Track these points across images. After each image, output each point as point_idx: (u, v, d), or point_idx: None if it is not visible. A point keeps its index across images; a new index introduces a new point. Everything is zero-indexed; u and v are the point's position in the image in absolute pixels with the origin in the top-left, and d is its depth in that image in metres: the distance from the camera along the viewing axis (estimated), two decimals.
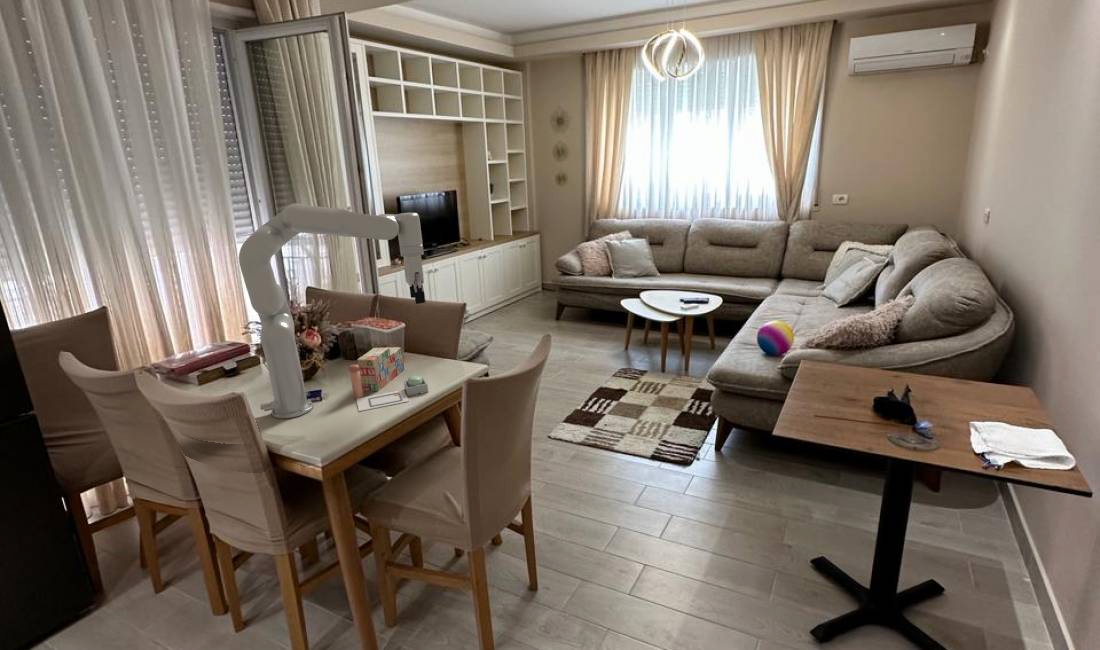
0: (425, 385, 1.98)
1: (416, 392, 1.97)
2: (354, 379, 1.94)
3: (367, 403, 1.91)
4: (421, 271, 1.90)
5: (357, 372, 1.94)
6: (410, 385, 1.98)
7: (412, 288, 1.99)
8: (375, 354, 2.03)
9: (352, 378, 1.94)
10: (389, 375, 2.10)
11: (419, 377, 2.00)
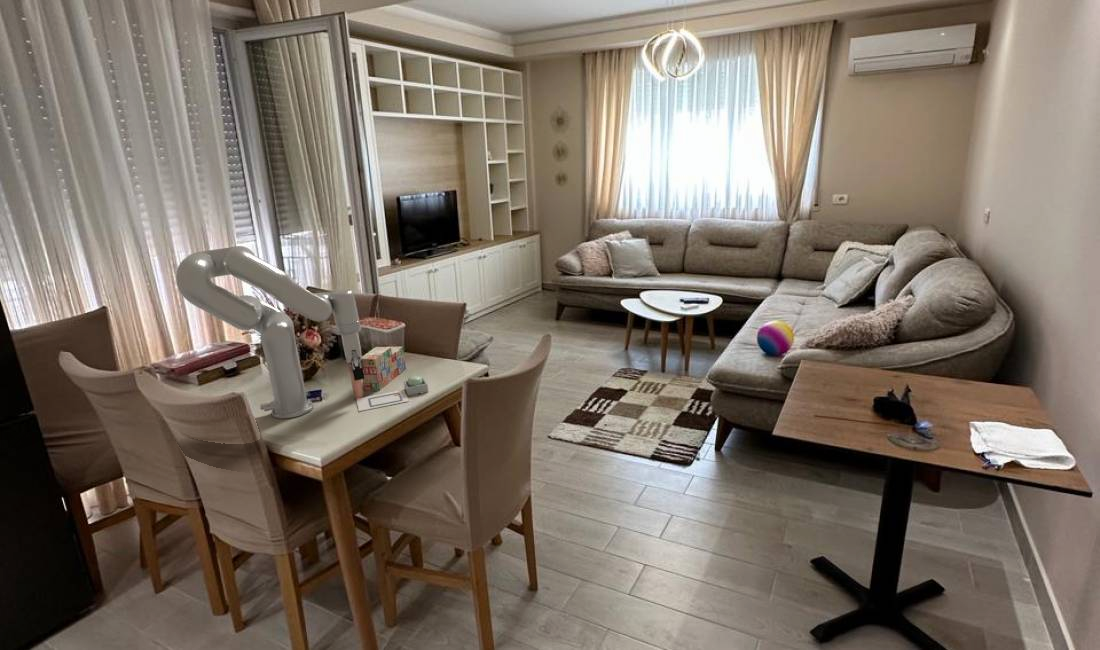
0: (425, 385, 1.98)
1: (416, 392, 1.97)
2: None
3: (367, 403, 1.91)
4: (358, 348, 1.89)
5: None
6: (410, 385, 1.98)
7: None
8: (377, 353, 2.04)
9: (352, 378, 1.94)
10: (391, 374, 2.11)
11: (419, 377, 2.00)
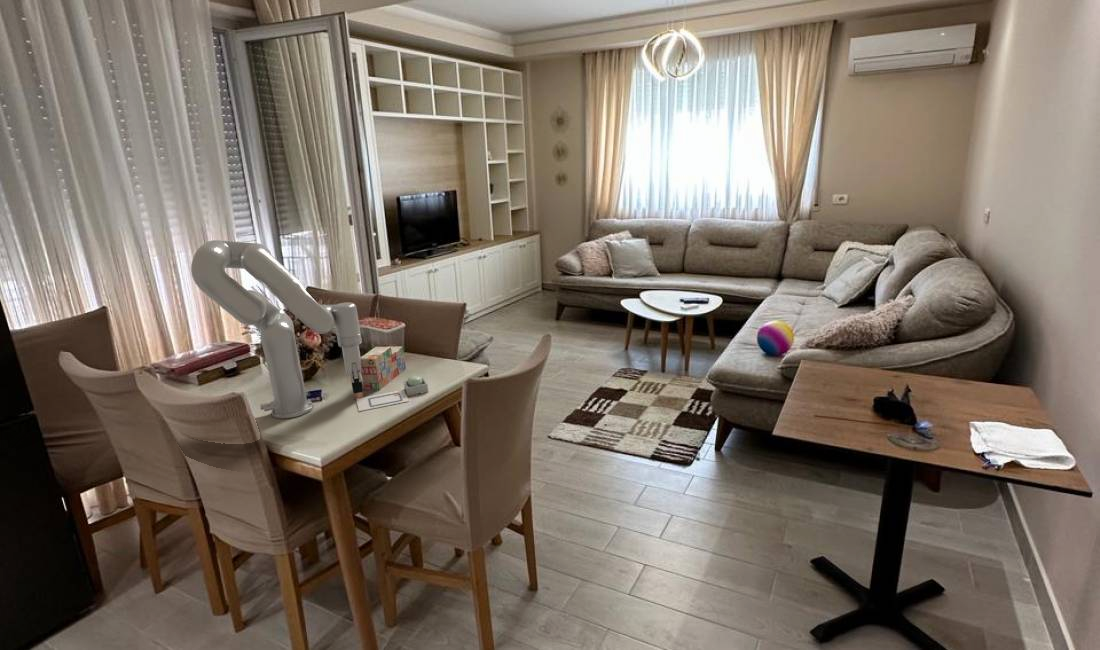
0: (425, 385, 1.98)
1: (416, 392, 1.97)
2: None
3: (367, 403, 1.91)
4: (358, 361, 1.90)
5: None
6: (410, 385, 1.98)
7: None
8: (377, 353, 2.04)
9: None
10: (391, 374, 2.11)
11: (419, 377, 2.00)
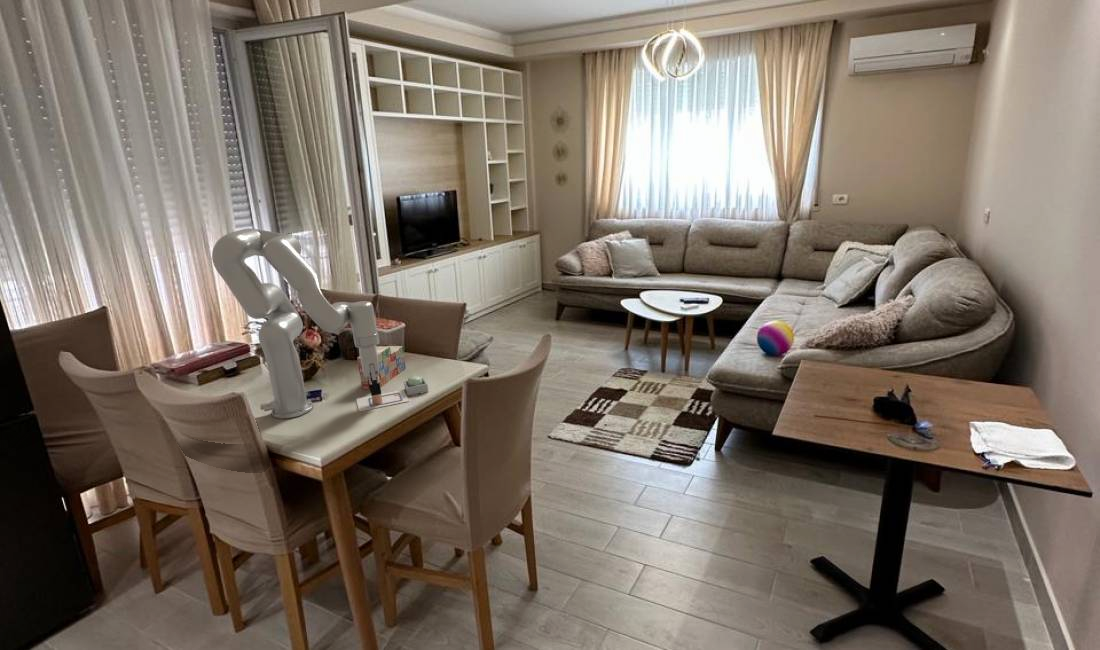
0: (425, 385, 1.98)
1: (416, 392, 1.97)
2: None
3: (367, 403, 1.91)
4: (376, 362, 1.83)
5: None
6: (410, 385, 1.98)
7: None
8: None
9: None
10: (389, 374, 2.11)
11: (419, 377, 2.00)
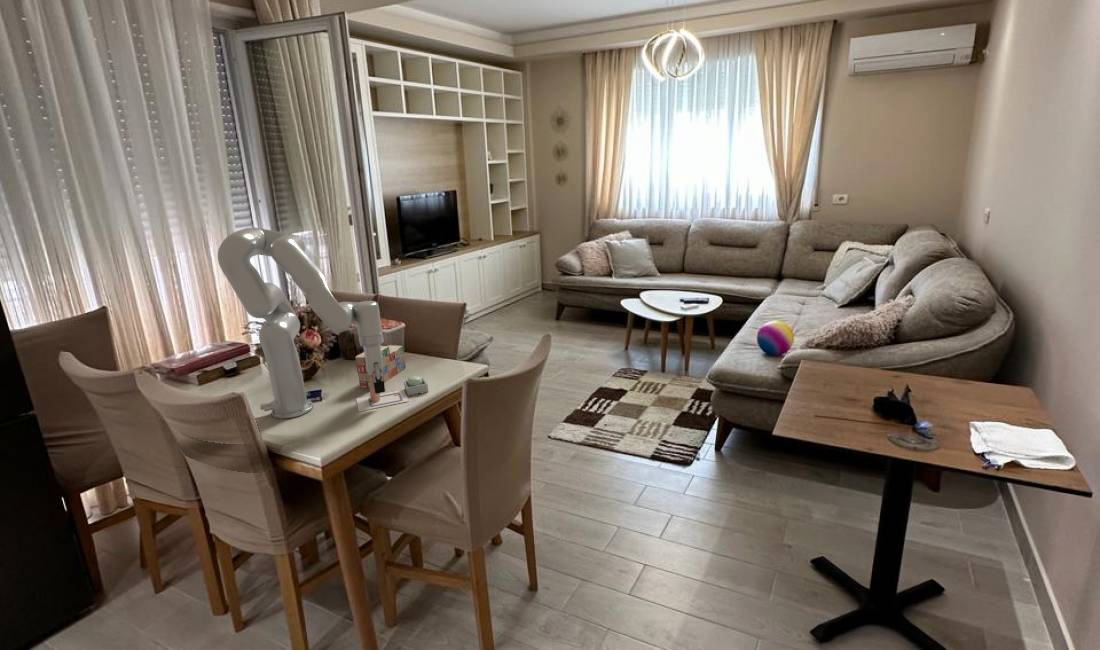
0: (425, 385, 1.98)
1: (416, 392, 1.97)
2: None
3: (367, 403, 1.91)
4: (380, 361, 1.86)
5: None
6: (410, 385, 1.98)
7: None
8: None
9: (371, 379, 1.90)
10: (388, 373, 2.12)
11: (419, 377, 2.00)
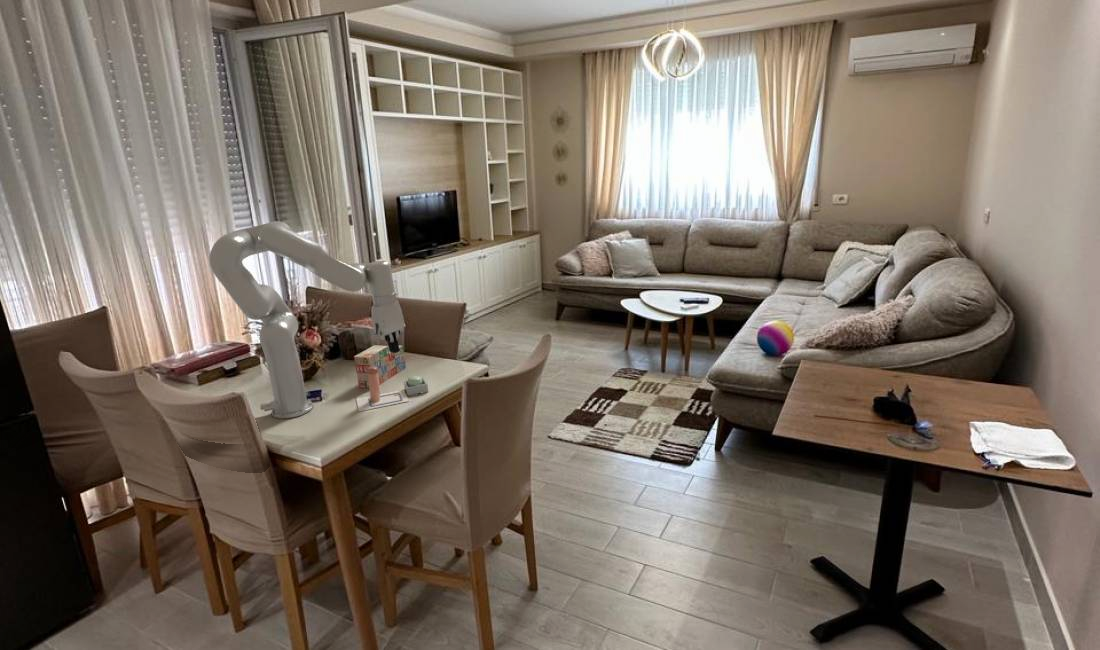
0: (425, 385, 1.98)
1: (416, 392, 1.97)
2: (373, 381, 1.90)
3: (367, 403, 1.91)
4: (380, 323, 1.85)
5: (376, 374, 1.90)
6: (410, 385, 1.98)
7: None
8: (372, 352, 2.06)
9: (370, 380, 1.90)
10: (387, 373, 2.12)
11: (419, 377, 2.00)
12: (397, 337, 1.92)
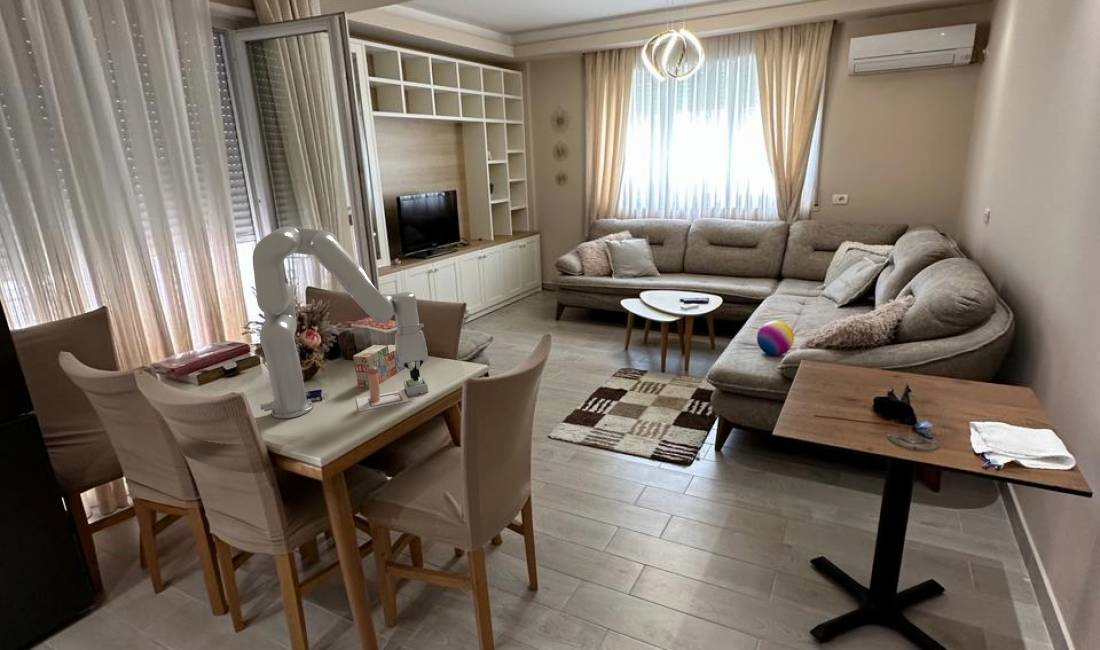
0: (425, 385, 1.98)
1: (416, 392, 1.97)
2: (373, 381, 1.90)
3: (367, 403, 1.91)
4: (397, 351, 1.93)
5: (376, 374, 1.90)
6: (410, 386, 1.98)
7: None
8: (371, 351, 2.06)
9: (370, 380, 1.90)
10: (387, 372, 2.12)
11: (419, 378, 2.00)
12: (417, 367, 1.97)
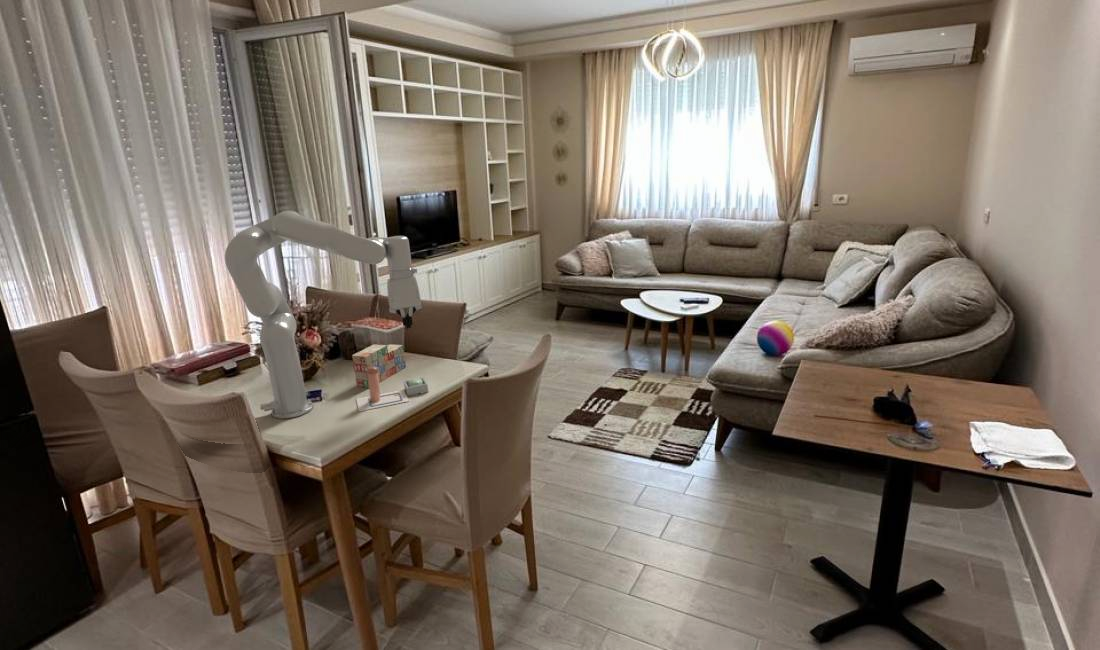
0: (425, 385, 1.98)
1: (416, 392, 1.97)
2: (373, 381, 1.90)
3: (367, 403, 1.91)
4: (389, 296, 1.88)
5: (376, 374, 1.90)
6: None
7: (406, 317, 1.94)
8: (370, 351, 2.07)
9: (370, 380, 1.90)
10: (386, 372, 2.13)
11: (419, 380, 2.00)
12: (410, 314, 1.92)
